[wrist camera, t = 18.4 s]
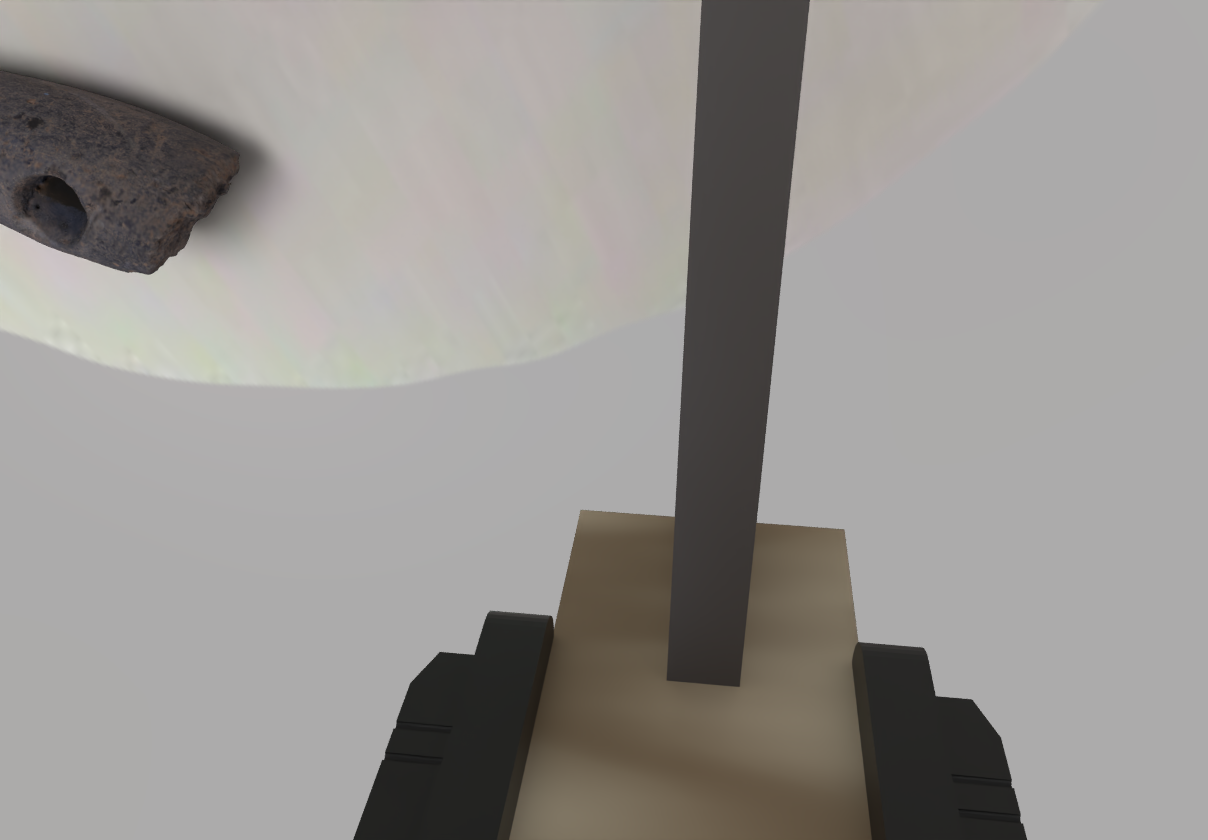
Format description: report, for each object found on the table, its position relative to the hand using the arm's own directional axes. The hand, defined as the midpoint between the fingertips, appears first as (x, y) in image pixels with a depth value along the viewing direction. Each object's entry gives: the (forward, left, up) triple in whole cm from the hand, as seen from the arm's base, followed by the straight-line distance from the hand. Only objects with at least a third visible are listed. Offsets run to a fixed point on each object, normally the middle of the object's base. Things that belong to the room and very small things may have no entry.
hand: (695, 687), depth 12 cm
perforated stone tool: (-26, -3, -31) cm, 41 cm away
